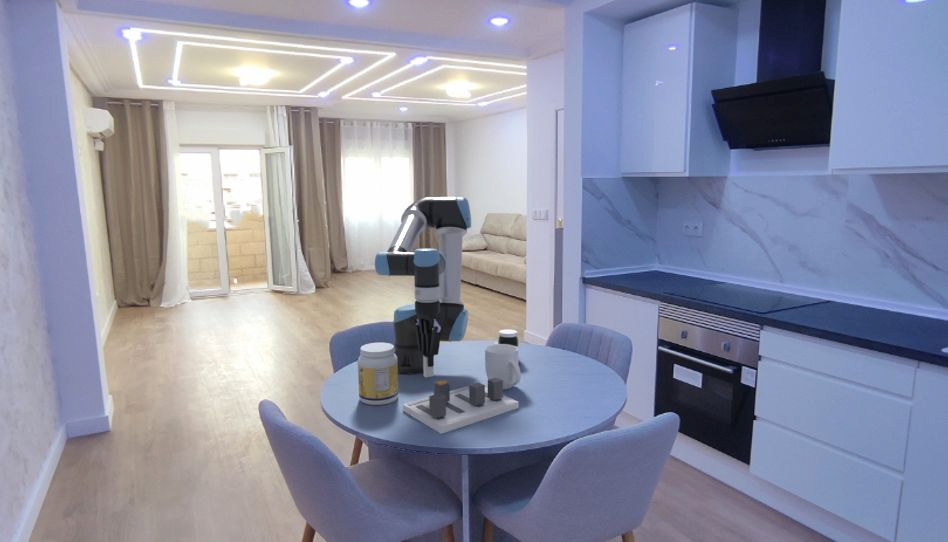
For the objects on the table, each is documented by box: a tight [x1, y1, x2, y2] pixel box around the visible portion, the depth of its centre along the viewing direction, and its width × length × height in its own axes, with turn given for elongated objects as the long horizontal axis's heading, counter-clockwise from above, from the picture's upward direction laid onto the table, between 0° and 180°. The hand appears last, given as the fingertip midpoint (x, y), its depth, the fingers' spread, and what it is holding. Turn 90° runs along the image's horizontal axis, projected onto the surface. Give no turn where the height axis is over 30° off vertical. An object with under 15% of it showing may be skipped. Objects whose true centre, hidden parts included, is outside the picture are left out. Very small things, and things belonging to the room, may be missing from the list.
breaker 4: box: [487, 377, 504, 400], centre depth 166 cm, size 3×4×6 cm
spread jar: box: [492, 329, 519, 349], centre depth 210 cm, size 12×11×12 cm
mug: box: [484, 343, 522, 391], centre depth 180 cm, size 15×11×13 cm
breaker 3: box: [468, 382, 486, 406], centre depth 162 cm, size 3×4×6 cm
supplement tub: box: [357, 342, 399, 406], centre depth 171 cm, size 12×12×17 cm
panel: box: [402, 385, 519, 435], centre depth 163 cm, size 20×28×2 cm
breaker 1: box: [433, 379, 451, 402], centre depth 164 cm, size 3×4×6 cm
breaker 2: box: [429, 393, 446, 418], centre depth 153 cm, size 3×4×6 cm
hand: (428, 375), depth 168 cm, fingers closed
